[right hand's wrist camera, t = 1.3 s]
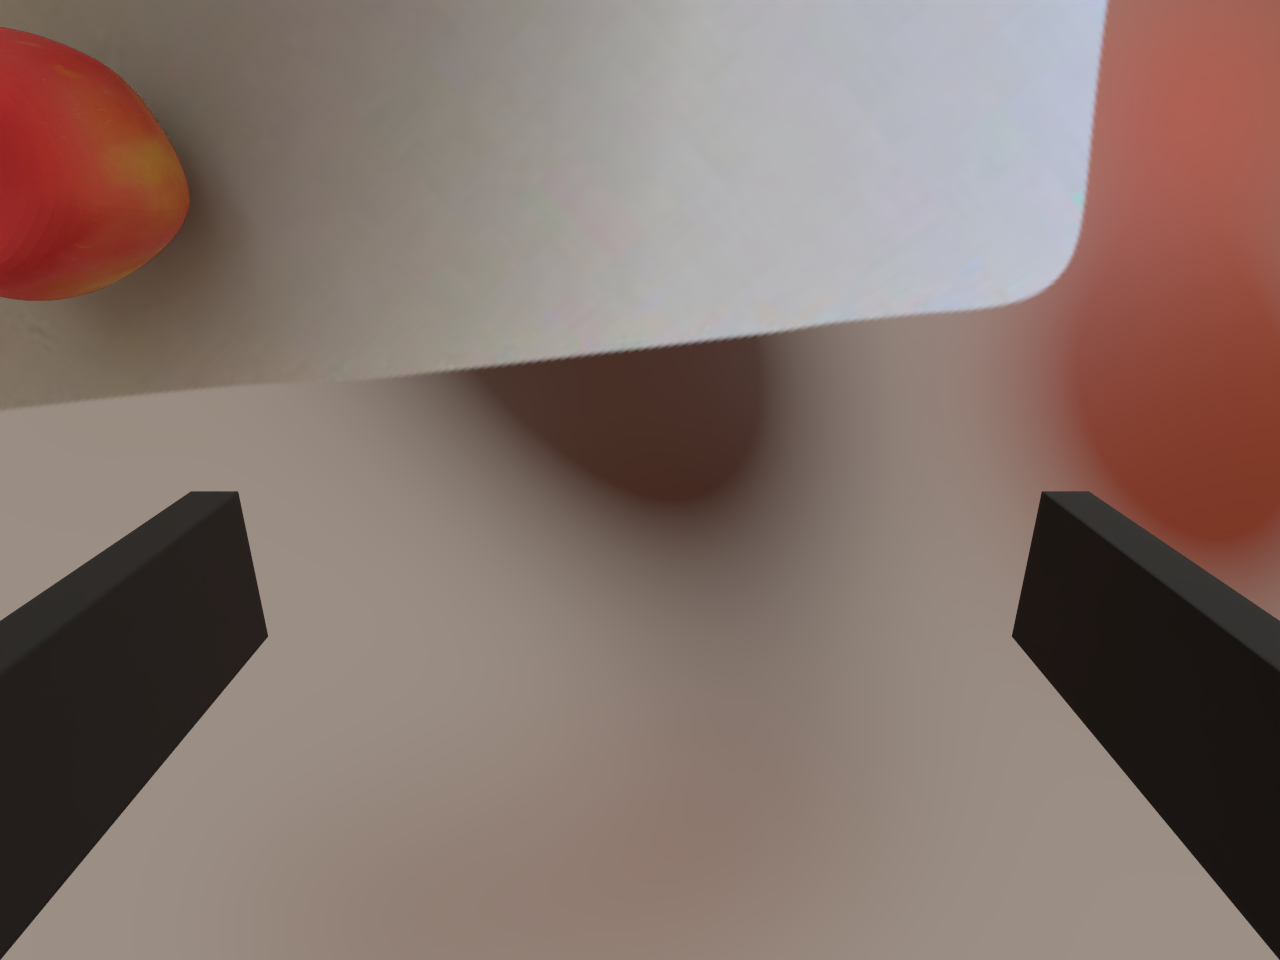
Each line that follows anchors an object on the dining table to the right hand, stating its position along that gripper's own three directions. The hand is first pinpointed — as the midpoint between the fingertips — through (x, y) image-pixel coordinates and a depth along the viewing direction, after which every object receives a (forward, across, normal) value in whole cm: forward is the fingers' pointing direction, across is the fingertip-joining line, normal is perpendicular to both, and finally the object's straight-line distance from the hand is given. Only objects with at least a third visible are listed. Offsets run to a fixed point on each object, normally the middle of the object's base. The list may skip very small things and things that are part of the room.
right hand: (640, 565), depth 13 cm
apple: (+25, -23, +6) cm, 35 cm away
